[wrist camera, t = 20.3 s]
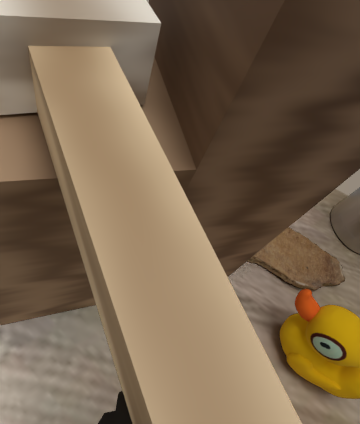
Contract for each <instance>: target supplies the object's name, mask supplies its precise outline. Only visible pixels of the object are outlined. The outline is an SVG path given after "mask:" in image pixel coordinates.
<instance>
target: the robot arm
mask: <svg viewBox="0 0 360 424" xmlns="http://www.w3.org/2000/svg"><path fill="white" fill-rule="evenodd" d="M331 223H332V226H333V229H334V231H335V233H336V234H337V236H338V237H339V239H340V240H341V241H342V242H343V243H344V244H345V245H346V246H347V247H348V248H350V249H351V250H353V251H354V252H356V253H358V254H360V188H358V189H357V190H356V191H354V192H353V193H352V194H350V195H349V196H347V197H346V198H345V199H343V200H342V201H341V202H339V203H338V204H337V205H336V206H335V207H333V209H332V211H331ZM98 424H132V420H131V417H130V414H129V411H128V407H127V404H126V401H125V398H124V394H123V391H121V392H119V394H118V399H117V405H116V411H112V412H108V413H104V415H103V416H102V418H101V420H100V421H99V423H98Z"/></svg>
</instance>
